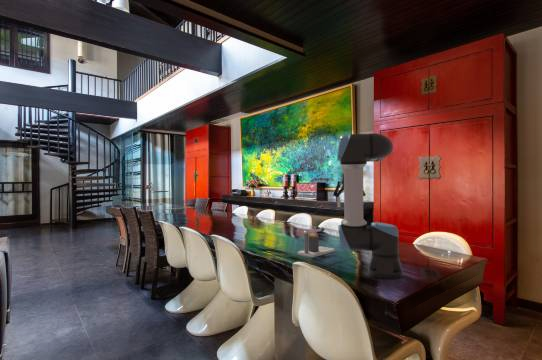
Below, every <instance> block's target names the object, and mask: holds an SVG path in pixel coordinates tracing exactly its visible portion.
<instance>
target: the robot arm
mask: <svg viewBox="0 0 542 360" xmlns="http://www.w3.org/2000/svg"><path fill="white" fill-rule="evenodd" d="M337 146H338V147H337V156H336V159H337V161H339V163H340V166H341V172H342V176H341V177H342V178H341V179H342V181H341V180H338V181H337V185H336V187H335V189H334V191H333V192H332V196H333V197H335V202H336V205H337V206H336V208H341V197H340V196H341V194H342V193H343V204H344V207H343V210H344V211H343V212H344V215H343V216H344V218H343V219H342V220H341V221H340V224H339V225H338V226H337V229H338V235H339V241H340V247H341V249H342V250H345V251H351V252H353V251H357V252H359V251H360V252H361V251H362V252H364V251H365V252H371V257H370V262H369V264H368V267H367V268H368V269H367V272H368V274H369V275H370V276H372V277H374V278H379V279H385V280H395V279H401V278H403V277H404V269H403V266H402V263H401V260H400V255H399V254H400V253H399V252H400V251H399V237H400V236H399V229H398V227H397V226H396V225H393V224H391V223H390V224H389V223H386V222H377V221H376V222H375V221H374V222H371V223H370V225H368V222H367V221H366V219H364V197H366V196H367V195H366V194H367V193H365V190H364V167H365V166H366V165H367V164H368V162H381V161H383V160H384V159H385V158H387V157H388V156H390V155H391V154H392V153H393V150H394V144H393V141H392V140H391V139H390V138H389V137H388V136H387V135H384V134H382V133H375V132H372V133H349V134H342V135H341V136H339V140H338V145H337ZM341 185H342V186H341Z"/></svg>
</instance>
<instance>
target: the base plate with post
mask: <svg viewBox="0 0 542 360" xmlns="http://www.w3.org/2000/svg"><path fill="white" fill-rule="evenodd" d="M303 240H304V241H303V242H304V243H303V244H304V245H303V249H304V250H299V251H297V255H298V256H303V257H308V258H311V259H314V258H315V257H319V256H323V255H328V254H330V253H334V252H336V248H332V247H326V246H322V245H321V246H319V251H318V252H310V251H309V234H303Z"/></svg>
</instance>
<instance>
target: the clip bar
mask: <svg viewBox="0 0 542 360" xmlns="http://www.w3.org/2000/svg"><path fill="white" fill-rule="evenodd" d="M317 232H325V228H324V227H319V228H317V229H311V230H303V232H302V234H303V235H304V234H308V235H310V234H314V233H317Z"/></svg>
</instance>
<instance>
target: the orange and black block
mask: <svg viewBox="0 0 542 360" xmlns="http://www.w3.org/2000/svg"><path fill="white" fill-rule="evenodd" d="M308 246H309V251H310V252H318V251H319V234H318V233H309V234H308Z"/></svg>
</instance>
